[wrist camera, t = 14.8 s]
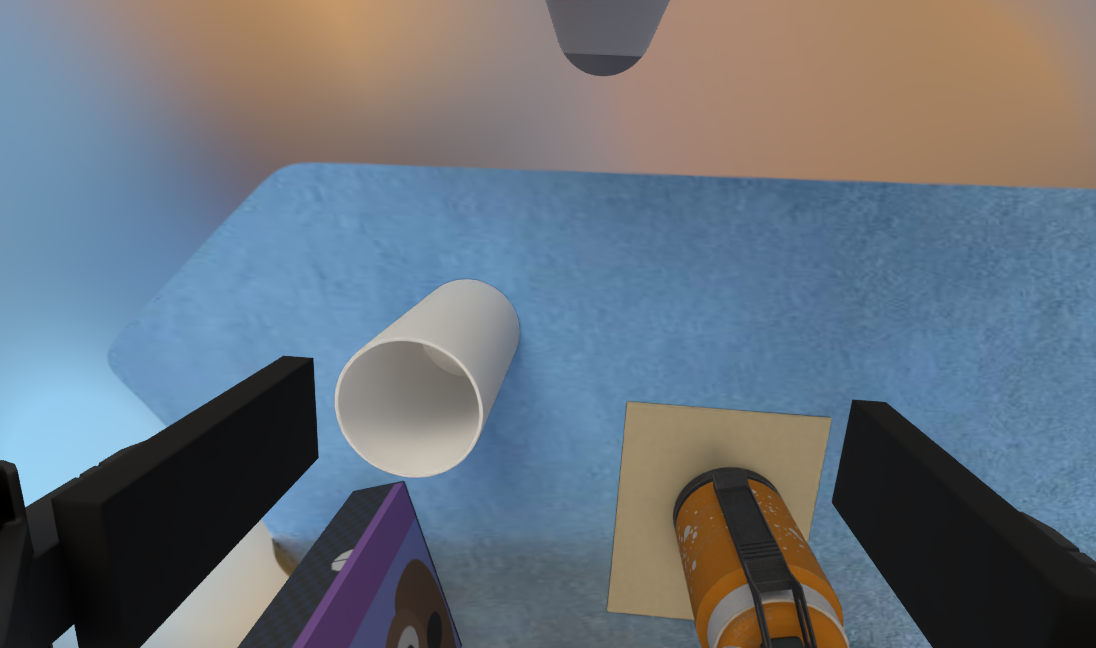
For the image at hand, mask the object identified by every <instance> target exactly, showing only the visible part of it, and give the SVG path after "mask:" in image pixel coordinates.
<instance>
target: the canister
mask: <svg viewBox="0 0 1096 648" xmlns="http://www.w3.org/2000/svg"><path fill="white" fill-rule="evenodd" d="M673 523H674V528H675V533H676V538H677V542H678V547H679V552H680V556H681V561H682V566H683V570H684V575H685V579H686V584H687V589H688V593H689V598H690V603H691V607H692V612H693V617H694V621H695V626H696V631H697V635H698V638H699V642H700V644H701V646H702V648H850V646H849V642H848V638H847V636H846V633H845V631H844V629H843V612H842V607H841V605H840V602H839V600H838V598H837V596H836V594H835V592H834V590H833V589H832V587H831V585H830V583H829V581H828V580H827V578H826V576H825V574H824V572H823V571H822V569H821V567H820V565H819V563H818V562H817V560H816V558H815V556H814V555H813V553H812V551H811V549H810V547H809V546H808V544H807V542H806V540H805V538H804V537H803V535H802V533H801V531H800V529H799V528H798V526H797V524H796V522H795V520H794V519H793V517H792V515H791V513H790V511H789V510H788V508H787V506H786V504H785V503H784V501H783V499H782V497H781V495H780V494H779V492H778V491H777V489H776V487H775V486H774V485H773V484H772V483H771V482H770V481H769V480H767V479H766V478H765V477H763V476H762V475H760V474H758V473H756V472H754V471H751V470H748V469H744V468H739V467H722V468H717V469H712V470H710V471H707V472H704V473H702V474H700V475H699V476H697V477H695V478H694V479H693V480H691V481H690V482H689V483H688V484H687V485H686V486H685V487H684V488H683V489H682V491H681V492H680V494H679V496H678V498H677V500H676V502H675V506H674V510H673Z"/></svg>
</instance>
